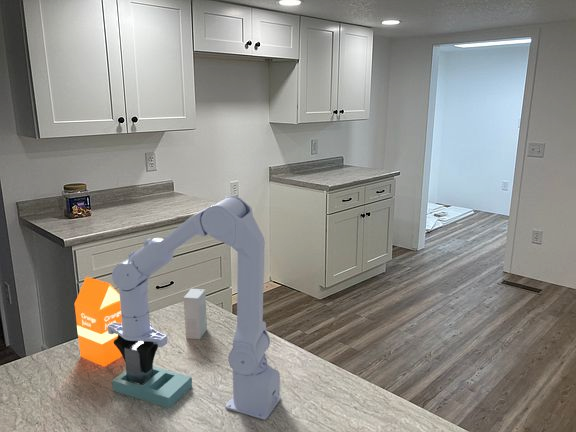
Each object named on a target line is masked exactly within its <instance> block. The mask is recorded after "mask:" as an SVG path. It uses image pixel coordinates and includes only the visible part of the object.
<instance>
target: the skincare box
mask: <svg viewBox="0 0 576 432" xmlns="http://www.w3.org/2000/svg"><path fill="white" fill-rule="evenodd" d="M206 294H207V293H206V289H202V288H201V289H199V288H190V289H189V290H188V292H187V293H186V294H185V295H184V297H183V311H184V313H183V315H184V326H185V327H184V329H185V338H186V339H189V340H191V339H192V340H201V339H202V338H203V336H204V335H205V333H206V331H207V330H208V323H207V322H208V321H207V318H208V317H207V301H206V299H207V297H206Z"/></svg>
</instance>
